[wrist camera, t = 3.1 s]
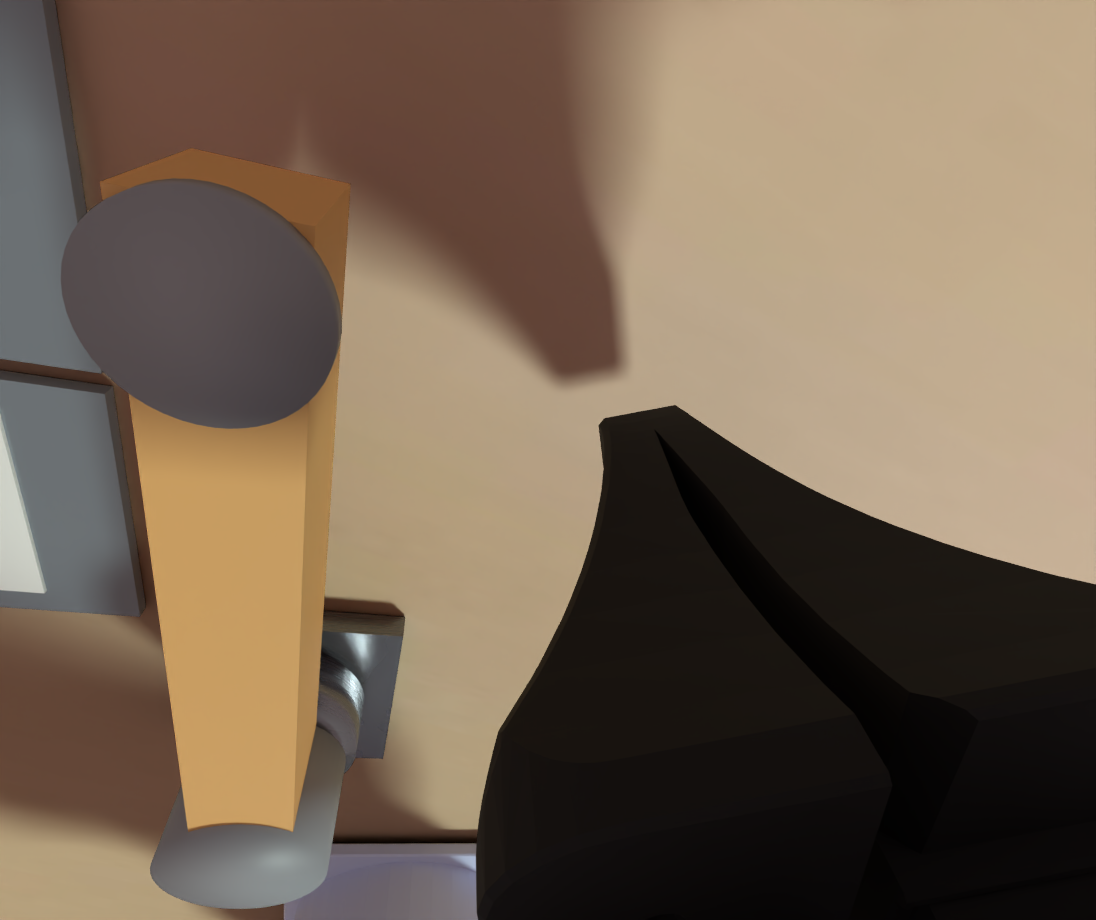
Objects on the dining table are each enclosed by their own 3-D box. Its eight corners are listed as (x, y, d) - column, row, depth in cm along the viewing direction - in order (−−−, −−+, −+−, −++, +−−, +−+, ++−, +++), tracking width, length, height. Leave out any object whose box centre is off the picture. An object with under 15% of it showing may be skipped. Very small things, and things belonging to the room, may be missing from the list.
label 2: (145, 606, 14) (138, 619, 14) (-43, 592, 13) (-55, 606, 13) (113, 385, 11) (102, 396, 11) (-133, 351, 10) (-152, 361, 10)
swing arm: (341, 798, 15) (322, 917, 13) (198, 797, 14) (154, 922, 12) (409, 180, 8) (389, 227, 6) (122, 112, 7) (-22, 142, 5)
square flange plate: (385, 738, 18) (377, 809, 16) (193, 732, 16) (163, 808, 15) (405, 617, 15) (397, 687, 13) (179, 600, 14) (140, 674, 12)
